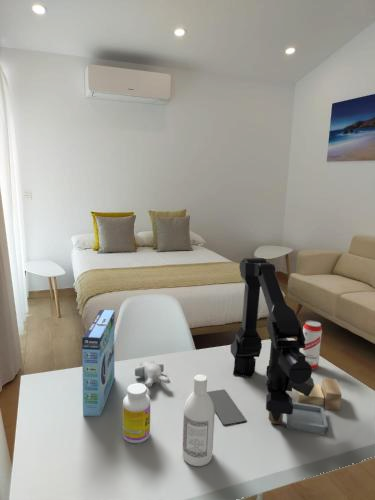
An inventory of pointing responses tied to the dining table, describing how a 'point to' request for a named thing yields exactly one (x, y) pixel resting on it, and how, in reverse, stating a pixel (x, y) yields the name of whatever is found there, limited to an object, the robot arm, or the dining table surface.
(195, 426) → the bath foam
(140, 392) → the supplement bottle
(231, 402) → the smartphone
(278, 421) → the dowel
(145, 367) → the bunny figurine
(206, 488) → the dining table surface
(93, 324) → the light blue cardboard box
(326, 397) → the block
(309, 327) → the beer can
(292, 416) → the tray
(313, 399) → the tan beveled block
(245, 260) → the robot arm
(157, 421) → the dining table surface
